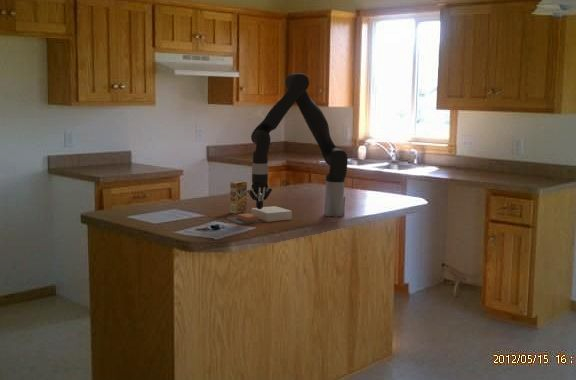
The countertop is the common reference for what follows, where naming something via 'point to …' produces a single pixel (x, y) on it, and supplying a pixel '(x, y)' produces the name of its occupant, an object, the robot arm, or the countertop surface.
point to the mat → (243, 221)
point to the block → (247, 217)
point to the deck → (272, 213)
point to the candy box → (238, 197)
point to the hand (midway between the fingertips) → (259, 208)
